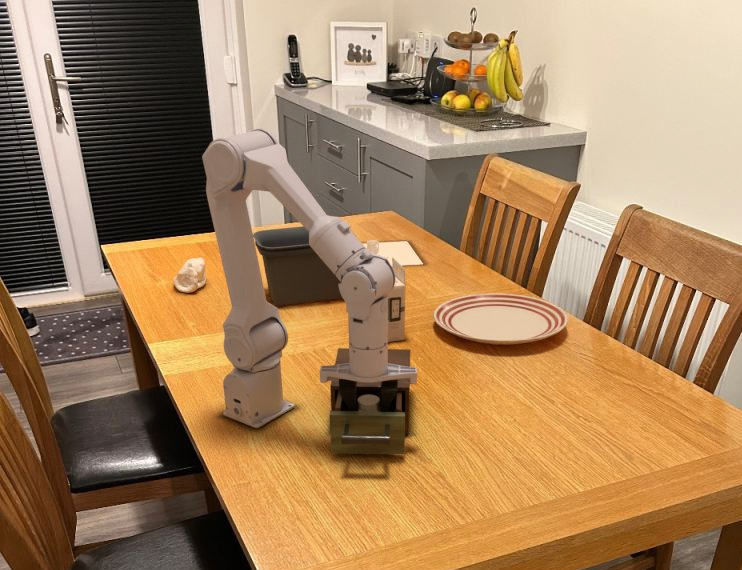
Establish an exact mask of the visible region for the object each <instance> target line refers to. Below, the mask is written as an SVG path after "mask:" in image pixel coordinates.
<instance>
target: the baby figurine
mask: <svg viewBox="0 0 742 570" xmlns="http://www.w3.org/2000/svg"><path fill="white" fill-rule="evenodd" d="M172 280H173V285H174V287H175V288H176V289H177V290H178V291H179V292H180V293H187V294H190V293H191V294H192V293H194V292H195V291H197V290H198V289H200V288H202V287H204V286H205V284H206V282H207V273H206V262H205V259H204V257H201V256H200V257H197V258H196V257H195V258H194V257H193V258H189V259H187V260H186V261H185V262H184V264H183V265H182V266H181V268H180V270H179V271H178V273H177V274H176V275H175V276H174V277H173V279H172Z"/></svg>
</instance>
